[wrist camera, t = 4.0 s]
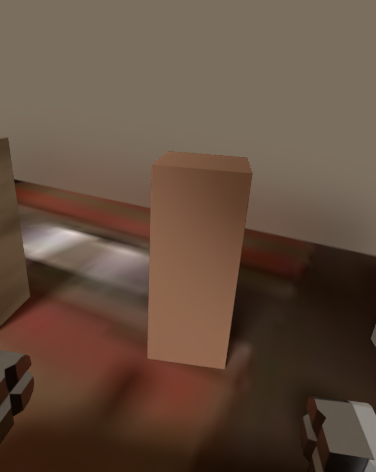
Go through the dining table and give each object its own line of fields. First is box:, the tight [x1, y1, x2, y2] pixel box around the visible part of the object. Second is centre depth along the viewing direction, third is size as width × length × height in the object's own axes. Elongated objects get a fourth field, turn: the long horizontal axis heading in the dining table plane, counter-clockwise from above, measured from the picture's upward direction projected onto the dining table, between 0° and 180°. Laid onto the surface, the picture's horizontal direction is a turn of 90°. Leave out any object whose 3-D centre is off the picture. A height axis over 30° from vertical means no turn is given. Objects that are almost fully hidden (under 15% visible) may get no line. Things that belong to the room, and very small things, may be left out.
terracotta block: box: [147, 151, 252, 369], centre depth 18 cm, size 4×4×11 cm
